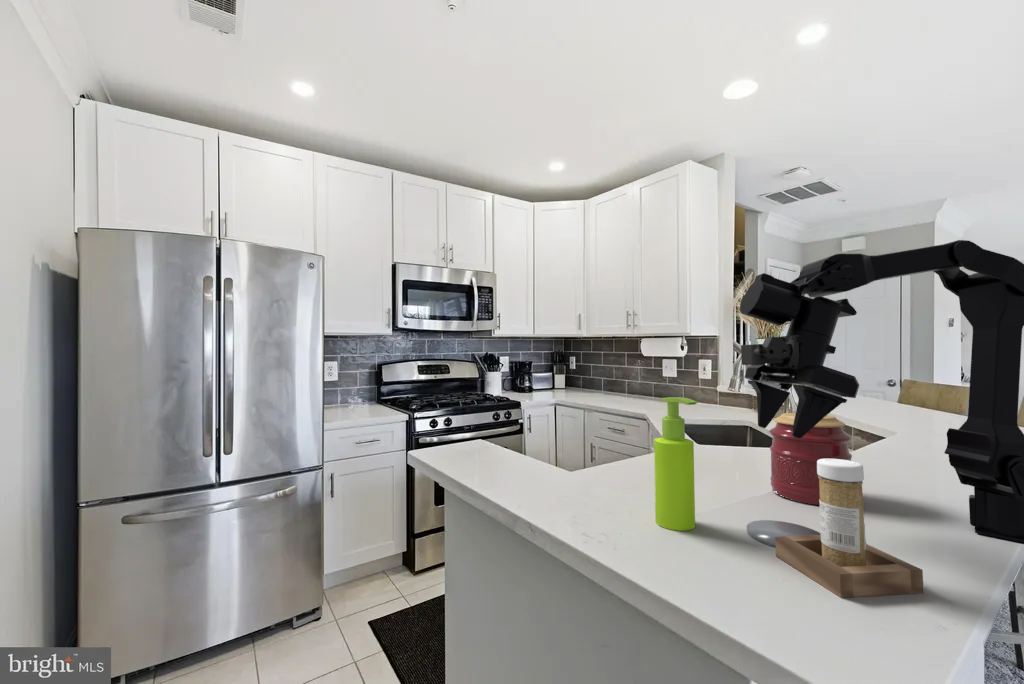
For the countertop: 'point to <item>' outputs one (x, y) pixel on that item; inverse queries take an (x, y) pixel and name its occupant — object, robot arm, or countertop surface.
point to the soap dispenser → (674, 471)
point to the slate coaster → (776, 530)
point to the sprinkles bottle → (842, 512)
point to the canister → (804, 456)
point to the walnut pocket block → (850, 569)
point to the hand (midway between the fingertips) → (777, 432)
